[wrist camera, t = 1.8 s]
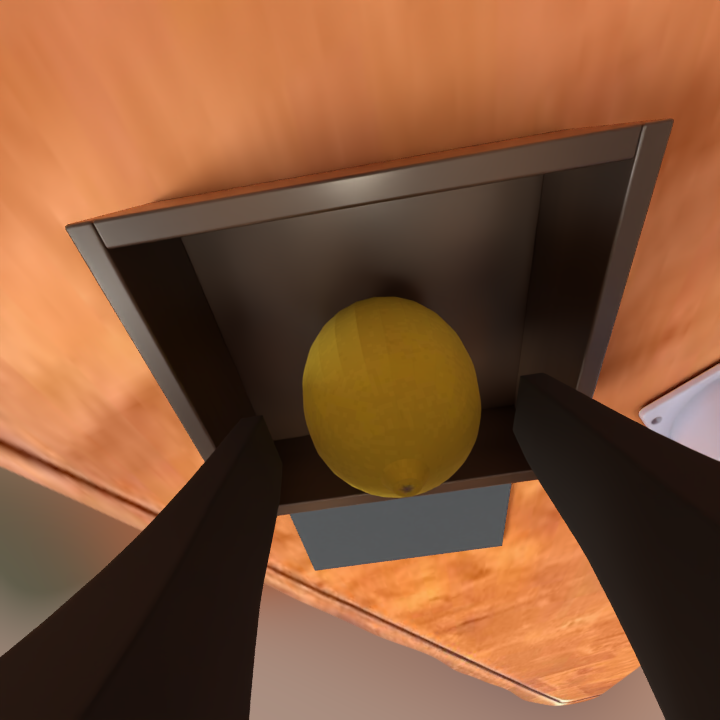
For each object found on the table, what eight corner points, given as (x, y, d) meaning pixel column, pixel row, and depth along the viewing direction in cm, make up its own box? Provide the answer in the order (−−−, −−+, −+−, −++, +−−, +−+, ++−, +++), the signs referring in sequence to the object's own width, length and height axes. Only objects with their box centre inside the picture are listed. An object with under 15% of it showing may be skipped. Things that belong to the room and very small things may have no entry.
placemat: (516, 422, 18) (520, 427, 18) (499, 540, 24) (502, 546, 24) (268, 459, 19) (266, 464, 18) (315, 565, 25) (314, 570, 25)
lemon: (424, 247, 12) (523, 358, 6) (449, 362, 15) (535, 527, 9) (290, 293, 13) (237, 441, 6) (338, 395, 16) (336, 571, 9)
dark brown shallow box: (565, 129, 11) (676, 117, 7) (522, 409, 18) (570, 475, 14) (149, 203, 12) (61, 225, 8) (259, 447, 18) (239, 521, 14)
